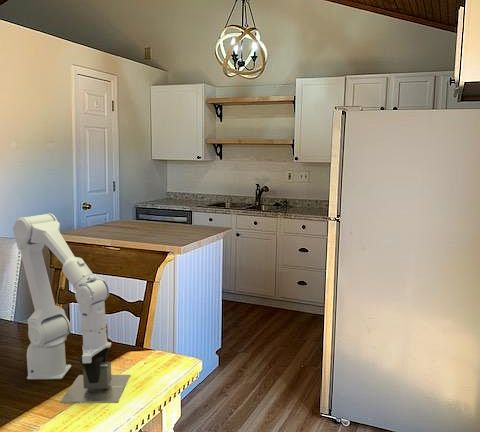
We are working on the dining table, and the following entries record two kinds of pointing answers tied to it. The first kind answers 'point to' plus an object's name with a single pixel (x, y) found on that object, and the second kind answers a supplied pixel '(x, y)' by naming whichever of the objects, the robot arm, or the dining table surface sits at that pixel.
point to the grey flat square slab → (96, 391)
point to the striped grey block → (103, 377)
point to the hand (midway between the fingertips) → (96, 377)
